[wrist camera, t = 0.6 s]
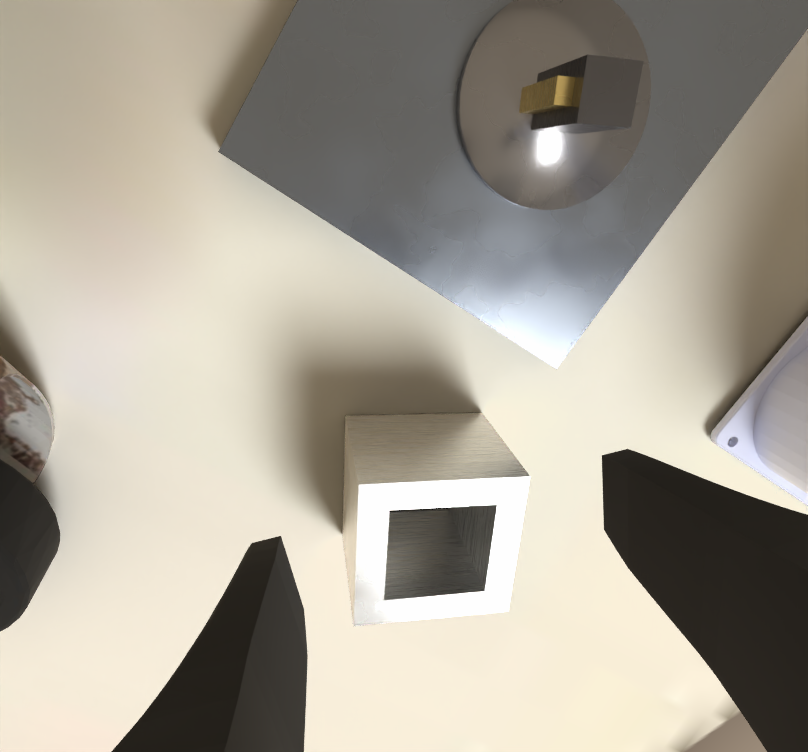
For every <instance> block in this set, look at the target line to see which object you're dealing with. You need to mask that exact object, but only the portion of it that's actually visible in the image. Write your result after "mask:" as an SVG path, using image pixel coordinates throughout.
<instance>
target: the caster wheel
mask: <svg viewBox="0 0 808 752" xmlns="http://www.w3.org/2000/svg"><path fill="white" fill-rule="evenodd" d="M54 428H55V426H54V419H53V414H52V412H51V409H50V406H49V404H48V402H47V401H46V399H45V397H44V396H43V394H42V393H41V392H40V391H39V390H38V388H37V387H36V386H35V385H34V384H33V383H32V382H30V381H29V380H28V379H27V378H26V377H25V376H23V375H22V374H21V373H20V372H19V371H18V370H17V369H15V368H14V367H13V366H12V365H11V364H10V363H8V362H7V361H6V360H5V359H4V358H3V357H2V356H0V631H2V630H4V629H6V628H8V627H9V626H10V625H11V624H13V623H14V622H15V621H16V620H17V619H19V618H20V616H21V615H22V614H23V612H24V611H25V609H26V608H27V606H28V605H29V603H30V601H31V599H32V597H33V595H34V593H35V592H36V590H37V588H38V586H39V584H40V582H41V581H42V579H43V577H44V575H45V573H46V571H47V569H48V568H49V566H50V564H51V562H52V560H53V558H54V557H55V555H56V553H57V551H58V547H59V543H60V530H59V526H58V522H57V519H56V515H55V513H54V511H53V509H52V508H51V506H50V504H49V502H48V501H47V499H46V498H45V497H44V496H43V494H42V493H41V492H40V491H39V490H38V489H37V488H36V486H35V485H34V482H35V481H36V479H37V478H38V476H39V474H40V473H41V471H42V469H43V467H44V465H45V463H46V460H47V458H48V455H49V453H50V449H51V446H52V442H53V439H54Z"/></svg>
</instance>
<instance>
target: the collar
mask: <svg viewBox="0 0 808 752" xmlns="http://www.w3.org/2000/svg"><path fill="white" fill-rule="evenodd" d="M529 481H530V476H529V474H528V473H527V472H526V470H525V469H524V468H523V466H522V465H521V464H520V463H519V461H518V460H517V459H516V457H515V456H514V455H513V453H512V452H511V451H510V449H509V448H508V447H507V445H506V444H505V443H504V441H503V440H502V439H501V437H500V436H499V435H498V433H497V432H496V431H495V429H494V428H493V427H492V425H491V424H490V423H489V421H488V420H487V419H486V417H485V416H484V415H483V413H448V414H403V415H357V416H345V450H344V489H343V529H342V536H343V544H344V552H345V560H346V568H347V576H348V585H349V593H350V601H351V609H352V617H353V625H354V626H361V625H371V624H381V623H392V622H402V621H412V620H423V619H433V618H444V617H454V616H464V615H475V614H485V613H495V612H506V611H508V610H509V603H510V597H511V591H512V585H513V579H514V573H515V567H516V561H517V554H518V548H519V542H520V536H521V530H522V524H523V518H524V512H525V506H526V499H527V493H528V487H529ZM444 507H449V509H444V510H426V511H408V512H391V513H389V511H391V510H408V509H426V508H444Z"/></svg>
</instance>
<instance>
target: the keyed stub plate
mask: <svg viewBox="0 0 808 752" xmlns="http://www.w3.org/2000/svg"><path fill="white" fill-rule="evenodd" d="M807 29H808V0H298V1H297V3H296V5H295V7H294V9H293V10H292V12H291V14H290V16H289V18H288V20H287V22H286V24H285V26H284V28H283V29H282V31H281V33H280V35H279V37H278V39H277V41H276V43H275V45H274V47H273V48H272V50H271V52H270V54H269V56H268V58H267V60H266V62H265V64H264V66H263V68H262V69H261V71H260V73H259V75H258V77H257V79H256V81H255V83H254V85H253V87H252V88H251V90H250V92H249V94H248V96H247V98H246V100H245V102H244V104H243V106H242V108H241V109H240V111H239V113H238V115H237V117H236V119H235V121H234V123H233V125H232V127H231V128H230V130H229V132H228V134H227V136H226V138H225V140H224V142H223V144H222V146H221V147H220V149H219V151H218V152H219V153H221V154H223V155H224V156H226V157H227V158H229V159H230V160H232V161H233V162H235V163H237V164H238V165H240V166H241V167H243V168H244V169H246V170H247V171H249V172H251V173H252V174H254V175H255V176H257V177H258V178H260V179H261V180H263V181H265V182H266V183H268V184H269V185H271V186H272V187H274V188H275V189H277V190H279V191H280V192H282V193H283V194H285V195H286V196H288V197H289V198H291V199H293V200H294V201H296V202H297V203H299V204H300V205H302V206H303V207H305V208H307V209H308V210H310V211H311V212H313V213H314V214H316V215H317V216H319V217H321V218H322V219H324V220H325V221H327V222H328V223H330V224H332V225H333V226H335V227H336V228H338V229H339V230H341V231H342V232H344V233H346V234H347V235H349V236H350V237H352V238H353V239H355V240H356V241H358V242H360V243H361V244H363V245H364V246H366V247H367V248H369V249H370V250H372V251H374V252H375V253H377V254H378V255H380V256H381V257H383V258H384V259H386V260H388V261H389V262H391V263H392V264H394V265H395V266H397V267H398V268H400V269H402V270H403V271H405V272H406V273H408V274H409V275H411V276H412V277H414V278H416V279H417V280H419V281H420V282H422V283H423V284H425V285H426V286H428V287H430V288H431V289H433V290H434V291H436V292H437V293H439V294H440V295H442V296H444V297H445V298H447V299H448V300H450V301H451V302H453V303H454V304H456V305H458V306H459V307H461V308H462V309H464V310H465V311H467V312H468V313H470V314H472V315H473V316H475V317H476V318H478V319H479V320H481V321H482V322H484V323H486V324H487V325H489V326H490V327H492V328H493V329H495V330H496V331H498V332H500V333H501V334H503V335H504V336H506V337H507V338H509V339H510V340H512V341H514V342H515V343H517V344H518V345H520V346H521V347H523V348H524V349H526V350H528V351H529V352H531V353H532V354H534V355H535V356H537V357H539V358H540V359H542V360H543V361H545V362H546V363H548V364H549V365H551V366H553V367H554V368H556V369H557V368H558V366H559V365H560V364H561V362H562V361H563V360H564V358H565V357H566V356H567V354H568V353H569V352H570V350H571V349H572V347H573V346H574V345H575V343H576V342H577V341H578V339H579V338H580V337H581V335H582V334H583V333H584V331H585V330H586V328H587V327H588V326H589V324H590V323H591V322H592V320H593V319H594V318H595V316H596V315H597V314H598V312H599V311H600V309H601V308H602V307H603V305H604V304H605V303H606V301H607V300H608V299H609V297H610V296H611V295H612V293H613V292H614V290H615V289H616V288H617V286H618V285H619V284H620V282H621V281H622V280H623V278H624V277H625V276H626V274H627V273H628V271H629V270H630V269H631V267H632V266H633V265H634V263H635V262H636V261H637V259H638V258H639V257H640V255H641V254H642V252H643V251H644V250H645V248H646V247H647V246H648V244H649V243H650V242H651V240H652V239H653V238H654V236H655V235H656V233H657V232H658V231H659V229H660V228H661V227H662V225H663V224H664V223H665V221H666V220H667V219H668V217H669V216H670V214H671V213H672V212H673V210H674V209H675V208H676V206H677V205H678V204H679V202H680V201H681V200H682V198H683V197H684V195H685V194H686V193H687V191H688V190H689V189H690V187H691V186H692V185H693V183H694V182H695V181H696V179H697V178H698V177H699V175H700V174H701V172H702V171H703V170H704V168H705V167H706V166H707V164H708V163H709V162H710V160H711V159H712V158H713V156H714V155H715V153H716V152H717V151H718V149H719V148H720V147H721V145H722V144H723V143H724V141H725V140H726V139H727V137H728V136H729V134H730V133H731V132H732V130H733V129H734V128H735V126H736V125H737V124H738V122H739V121H740V120H741V118H742V117H743V115H744V114H745V113H746V111H747V110H748V109H749V107H750V106H751V105H752V103H753V102H754V101H755V99H756V98H757V96H758V95H759V94H760V92H761V91H762V90H763V88H764V87H765V86H766V84H767V83H768V82H769V80H770V79H771V77H772V76H773V75H774V73H775V72H776V71H777V69H778V68H779V67H780V65H781V64H782V63H783V61H784V60H785V58H786V57H787V56H788V54H789V53H790V52H791V50H792V49H793V48H794V46H795V45H796V44H797V42H798V41H799V39H800V38H801V37H802V35H803V34H804V33H805V31H806V30H807Z"/></svg>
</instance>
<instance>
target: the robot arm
mask: <svg viewBox="0 0 808 752" xmlns="http://www.w3.org/2000/svg"><path fill="white" fill-rule="evenodd" d="M730 438H731V440H730V441H729V439H730ZM711 440H712V442H713V443H715V444H716V445H718V446H719V447H721V448H722V449H724V450H725V451H727V452H728V453H730V454H731V455H733V456H734V457H736V458H737V459H739V460H740V461H742V462H743V463H745V464H746V465H748V466H749V467H751V468H752V469H754V470H755V471H757V472H758V473H760V474H761V475H763V476H764V477H766V478H767V479H769V480H770V481H772V482H773V483H775V484H776V485H778V486H779V487H781V488H782V489H784V490H785V491H787V492H788V493H789V494H791V495H792V496H794V497H795V498H797V499H798V500H800V501H801V502H803V503H804V504H806V505H807V506H808V316H807V318H806V319H805V320H804V321H803V322H802V324H801V325H800V326H799V327H798V328H797V330H796V331H795V332H794V333H793V334H792V336H791V337H790V338H789V339H788V340H787V342H786V343H785V344H784V345H783V346H782V348H781V349H780V350H779V351H778V352H777V354H776V355H775V356H774V357H773V358H772V359H771V361H770V362H769V363H768V364H767V365H766V367H765V368H764V369H763V370H762V371H761V373H760V374H759V375H758V376H757V377H756V379H755V380H754V381H753V382H752V383H751V385H750V386H749V387H748V388H747V389H746V391H745V392H744V393H743V394H742V395H741V397H740V398H739V399H738V400H737V401H736V403H735V404H734V405H733V406H732V407H731V409H730V410H729V411H728V412H727V413H726V415H725V416H724V417H723V418H722V419H721V421H720V422H719V423H718V424H717V425H716V427H715V428H714V429H713V431H712V432H711ZM728 441H729V442H728ZM602 474H603V509H604V530H605V532H606V533H607V535H608V537H609V538H610V540H611V542H612V543H613V545H614V547H615V548H616V550H617V551H618V553H619V554H620V556H621V558H622V559H623V561H624V562H625V564H626V565H627V567H628V568H629V569H630V571H631V572H632V573H633V574H634V576H635V577H636V578H637V579H638V581H639V582H640V583H641V584H642V586H643V587H644V588H645V589H646V590H647V592H648V593H649V594H650V595H651V597H652V598H653V599H654V600H655V601H656V603H657V604H658V605H659V606H660V607H661V609H662V610H663V611H664V612H665V613H666V615H667V616H668V617H669V618H670V619H671V621H672V622H673V623H674V624H675V625H676V627H677V628H678V629H679V630H680V631H681V633H682V634H683V635H684V636H685V637H686V639H687V640H688V641H689V642H690V643H691V645H692V646H693V647H694V648H695V649H696V651H697V652H698V653H699V654H700V655H701V657H702V658H703V659H704V661H705V662H706V663H707V665H708V666H709V667H710V668H711V670H712V671H713V672H714V674H715V675H716V676H717V678H718V679H719V681H720V682H721V684H722V685H723V687H724V688H725V689H726V691H727V692H728V694H729V695H730V697H731V698H732V700H733V701H734V703H735V704H736V705H737V707H738V708H739V710H740V711H741V713H742V714H743V716H744V717H745V719H746V720H747V721H748V723H749V724H750V726H751V728H752V729H753V731H754V732H755V733H756V735H757V737H758V738H759V740H760V741H761V743H762V744H763V746H764V747H765V749H766V750H767V752H808V515H806V514H803V513H799V512H796V511H793V510H790V509H787V508H783V507H780V506H777V505H774V504H771V503H769V502H766V501H763V500H760V499H757V498H754V497H751V496H748V495H745V494H743V493H740V492H737V491H734V490H732V489H729V488H726V487H724V486H721V485H719V484H716V483H713V482H711V481H708V480H706V479H703V478H701V477H698V476H696V475H693V474H691V473H688V472H686V471H683V470H681V469H678V468H676V467H673V466H671V465H669V464H666V463H664V462H661V461H659V460H656V459H654V458H651V457H648V456H646V455H643V454H640V453H638V452H635V451H632V450H629V449H626V450H622V451H618V452H614V453H610V454H606V455H602ZM306 683H307V643H306V629H305V617H304V608H303V605H302V602H301V599H300V595H299V592H298V589H297V586H296V583H295V580H294V576H293V573H292V570H291V567H290V564H289V561H288V557H287V554H286V551H285V548H284V545H283V542H282V538H281V536H279V537H275V538H271V539H267V540H263V541H259V542H255V543H252V544H251V545H250V547H249V548H248V550H247V552H246V553H245V555H244V557H243V559H242V561H241V563H240V565H239V567H238V569H237V570H236V572H235V574H234V576H233V578H232V580H231V582H230V583H229V585H228V587H227V589H226V591H225V592H224V594H223V596H222V598H221V599H220V601H219V603H218V605H217V606H216V608H215V610H214V611H213V613H212V615H211V617H210V618H209V620H208V622H207V623H206V625H205V627H204V628H203V630H202V632H201V633H200V635H199V636H198V638H197V639H196V641H195V642H194V644H193V645H192V647H191V648H190V650H189V652H188V653H187V655H186V656H185V658H184V659H183V661H182V662H181V664H180V665H179V667H178V668H177V670H176V671H175V673H174V674H173V675H172V677H171V678H170V680H169V681H168V682H167V684H166V685H165V687H164V688H163V689H162V691H161V692H160V693H159V695H158V696H157V697H156V699H155V700H154V701H153V703H152V704H151V705H150V706H149V708H148V709H147V710H146V712H145V713H144V714H143V716H142V717H141V718H140V719H139V720H138V722H137V723H136V724H135V725H134V726H133V728H132V729H131V730H130V731H129V732H128V733H127V735H126V736H125V737H124V738H123V739H122V740H121V741H120V743H119V744H118V745H117V746H116V747H115V748H114V749H113V751H112V752H304V732H305V708H306Z"/></svg>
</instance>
